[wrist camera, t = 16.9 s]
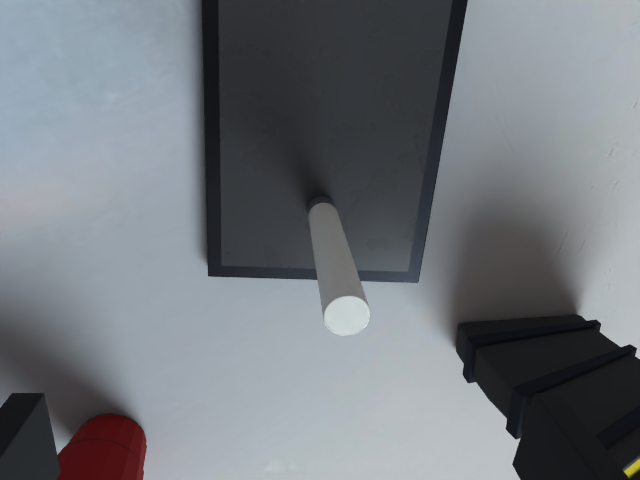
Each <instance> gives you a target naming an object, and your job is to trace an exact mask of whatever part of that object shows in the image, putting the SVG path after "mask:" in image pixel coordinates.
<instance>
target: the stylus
mask: <svg viewBox="0 0 640 480" xmlns="http://www.w3.org/2000/svg"><path fill="white" fill-rule="evenodd" d="M307 211H308V218H309V225H310V232H311V238H312V245H313V252H314V258H315V265H316V272H317V278H318V285H319V292H320V298H321V305H322V312H323V318H324V323H325V325H326V326H327V328H328V329H329V330H330V331H332V332H333V333H335V334H338V335H343V336H348V335H353V334H356V333H358V332H360V331H361V330H362V329H364V328H365V326H366V325H367V324H368V322H369V319H370V309H369V305H368V302H367V299H366V296H365V293H364V290H363V288H362V285H361V282H360V279H359V276H358V273H357V270H356V267H355V264H354V261H353V258H352V255H351V252H350V249H349V246H348V243H347V240H346V237H345V234H344V231H343V228H342V225H341V222H340V219H339V216H338V213H337V210H336V207H335V204H334V202H333V201H332V200H331V199H330V198H328V197H325V196H319V197H316V198H314V199H312V200H311V201H310V203H309V205H308V208H307Z"/></svg>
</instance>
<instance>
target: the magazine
mask: <svg viewBox="0 0 640 480" xmlns="http://www.w3.org/2000/svg"><path fill="white" fill-rule="evenodd" d="M600 327H601V323H600V322H598V321H597V320H590V321H586V320H585V319H584V318H583V317H582V316H579V315H569V316H555V317H541V318H527V319H513V320H499V321H484V322H470V323H461V324H459V327H458V337H457V347H456V352H457V354H458V355H459V357H460V359H461V360H462V362H463V363H464V368H463V376H464V378H465V379H466V381H467V382H468V383H473V382H477V384H478V385H479V387H480V388H481V389H482V391H483V392H484V393H485V395H486V396H487V397H488V399H489V400H490V401H491V402H492V403H493V404H494V405H495V406H496V407H497V409H498V410H499V411H500V412H501V413H502V414H503V415H504V416H505V417H506V418H507V425H506V430H507V431H508V432H509V433H510V434H511V435H512V436H513V437H514V438H515V439H519V438H521V436H522V433H523V430H524V426H525V423H526V420H527V417H528V414H529V411H530V408H531V405H532V402H533V398H534V395H535V393H561V394H562V395H563V397H564V398H565V399H566V400H567V402H568V403H569V404H570V405H571V407H572V408H573V409H574V410H575V412H576V413H577V414H578V415H579V416H580V418H581V419H582V420H583V421H584V423H585V424H586V425H587V426H588V428H589V429H590V430H591V431H592V433H593V434H594V435H595V436H596V438H597V439H598V440H599V441H600V442H601V444H602V445H603V446H604V447H605V449H606V450H607V451H608V452H609V454H610V455H611V456H612V457H613V459H614V460H615V461H616V462H617V464H618V465H619V466H620V467H621V469H622V470H623V471H624V472H625V473H626V475H627V476H628V477H629V478H630V480H640V359H638V358H637V357H635V354H636V350H637V348H635V347H634V346H632V345H630V344H629V345H627V346H624V347H619V346H618V345H617V344H615V343H614V342H612V341H611V340H609V339H608V338H607V337H605V336H604V335H603V334H602V333H600V332H599V331H600Z"/></svg>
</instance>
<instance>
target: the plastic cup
mask: <svg viewBox="0 0 640 480" xmlns="http://www.w3.org/2000/svg"><path fill="white" fill-rule="evenodd" d="M146 447H147V446H146V437H145V434H144V431H143V430H142V429H141V427H140V426H139V425H138V424H137V423H136V422H134V421H132V420H130V419H128V418H127V417H124V416H119V415H114V414H109V415H99V416H97V417H95V418H93V419H90V420H88V421H87V422H86V424H84V425H83V426H82V427H81V428H80V429H79V430H78V432H77V433H76V434H75V435H74V436H73V438H72V439H71V440H70V442H69V443H68V444H67V445H66V446H65V447H64V448H63V449H62V450H61V452H60V453H59V454H58V455H57V457H58V461H59V466H60V471H61V472H60V474H59V476H58V478H57V480H143V475H144V471H143V466H144V460H145V453H146Z"/></svg>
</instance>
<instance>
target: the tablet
mask: <svg viewBox="0 0 640 480" xmlns="http://www.w3.org/2000/svg"><path fill="white" fill-rule="evenodd" d="M467 1H468V0H202V41H203V83H204V125H205V167H206V209H207V251H208V276H213V277H246V278H278V279H311V280H318V278H317V272H316V265H315V258H314V252H313V245H312V238H311V232H310V225H309V218H308V211H307V208H308V205H309V203H310V201H311V200H312V199H314V198H316V197H319V196H325V197H328V198H330V199H331V200H332V201H333V202H334V204H335V207H336V210H337V213H338V216H339V219H340V222H341V225H342V228H343V231H344V234H345V237H346V240H347V243H348V246H349V249H350V252H351V255H352V258H353V261H354V264H355V267H356V270H357V273H358V276H359V279H360V281H377V282H410V283H418V281H419V275H420V270H421V264H422V258H423V252H424V247H425V241H426V235H427V230H428V224H429V218H430V212H431V207H432V201H433V195H434V190H435V184H436V178H437V172H438V167H439V161H440V155H441V149H442V144H443V138H444V132H445V127H446V121H447V115H448V109H449V104H450V98H451V92H452V87H453V81H454V75H455V69H456V64H457V58H458V52H459V47H460V41H461V35H462V29H463V24H464V18H465V12H466V7H467Z"/></svg>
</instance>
